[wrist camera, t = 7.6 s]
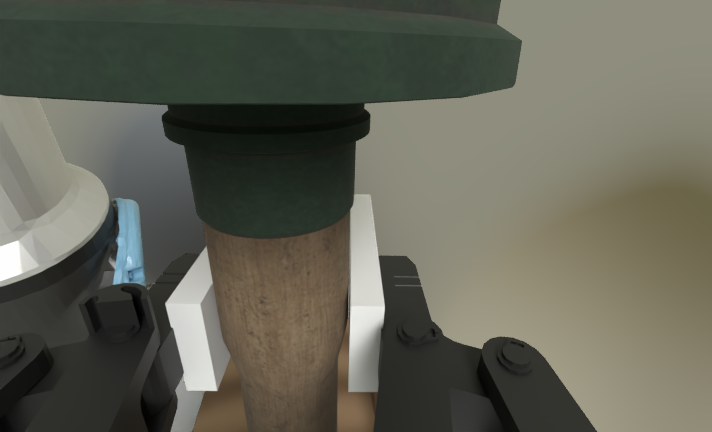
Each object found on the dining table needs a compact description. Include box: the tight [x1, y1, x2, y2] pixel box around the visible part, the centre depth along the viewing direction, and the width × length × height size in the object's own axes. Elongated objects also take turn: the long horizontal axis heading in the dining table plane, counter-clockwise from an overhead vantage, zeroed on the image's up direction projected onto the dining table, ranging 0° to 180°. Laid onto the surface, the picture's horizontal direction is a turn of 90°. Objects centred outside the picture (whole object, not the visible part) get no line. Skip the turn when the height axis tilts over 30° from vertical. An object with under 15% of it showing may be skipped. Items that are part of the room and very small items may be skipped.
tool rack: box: [192, 318, 378, 432], centre depth 36 cm, size 20×18×7 cm
